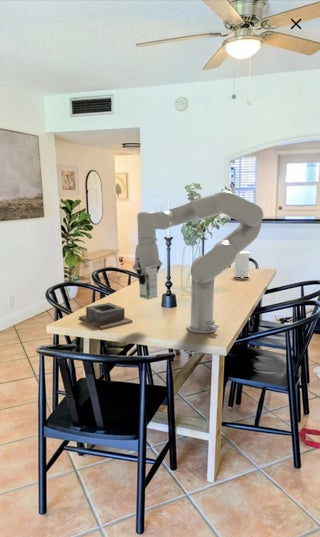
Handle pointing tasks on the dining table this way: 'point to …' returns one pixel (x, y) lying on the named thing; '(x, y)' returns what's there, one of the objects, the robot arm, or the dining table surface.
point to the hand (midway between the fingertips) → (148, 282)
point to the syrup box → (149, 283)
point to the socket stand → (105, 316)
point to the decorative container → (241, 264)
